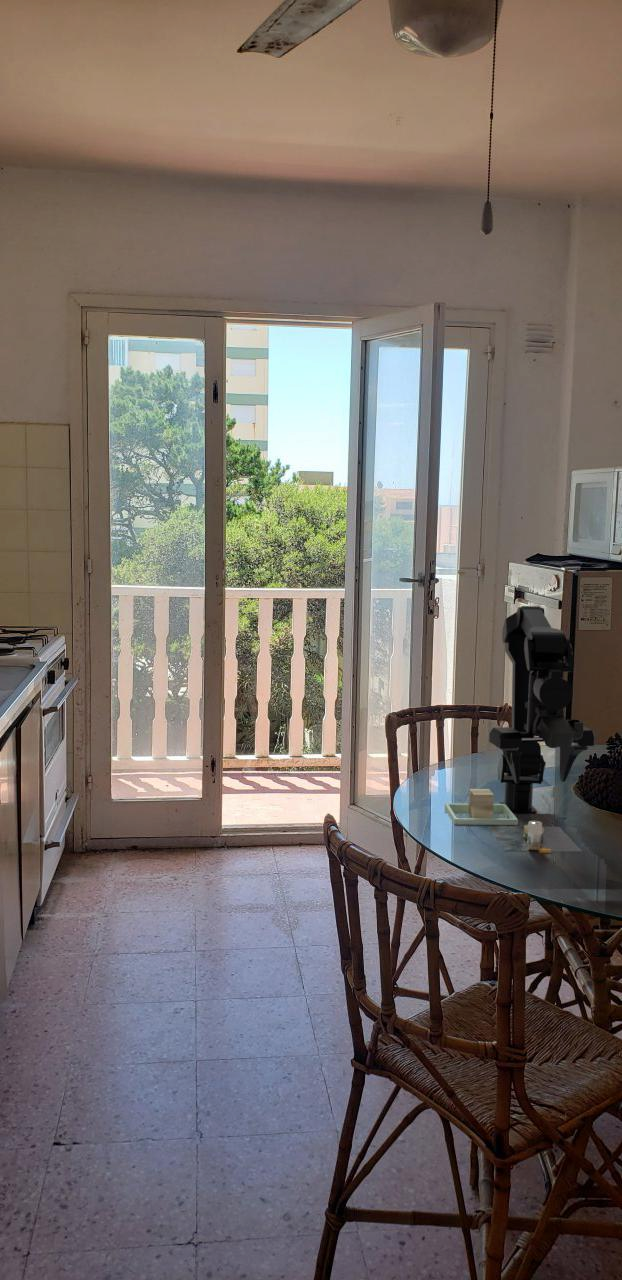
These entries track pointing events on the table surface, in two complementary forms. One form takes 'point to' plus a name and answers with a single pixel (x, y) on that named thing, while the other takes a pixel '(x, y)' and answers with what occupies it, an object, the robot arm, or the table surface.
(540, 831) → the crank
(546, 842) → the crank base
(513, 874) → the table surface
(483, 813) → the block
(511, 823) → the tray
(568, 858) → the table surface
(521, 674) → the robot arm
